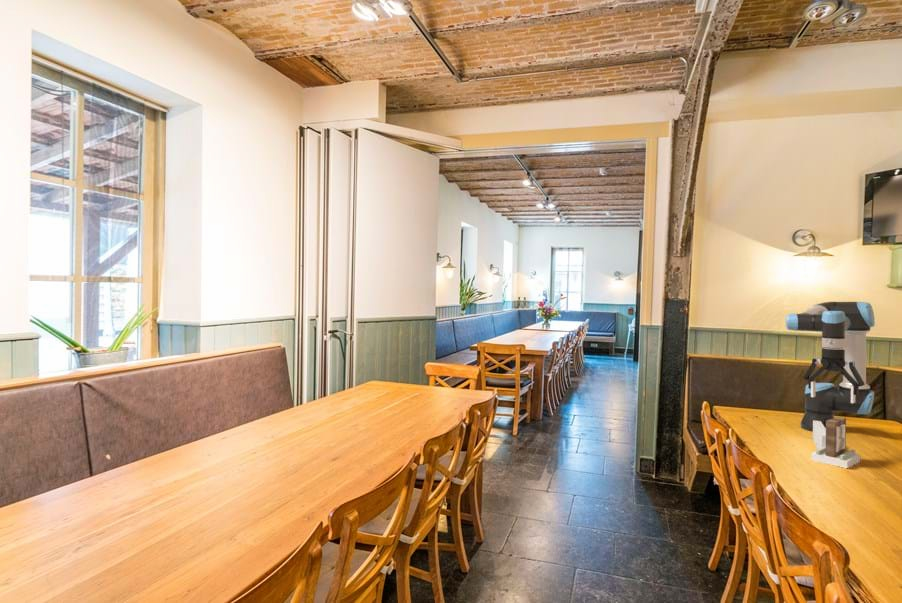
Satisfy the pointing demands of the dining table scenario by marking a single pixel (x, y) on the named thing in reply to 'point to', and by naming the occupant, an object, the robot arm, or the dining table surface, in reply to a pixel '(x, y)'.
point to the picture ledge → (836, 458)
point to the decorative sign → (819, 434)
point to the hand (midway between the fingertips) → (832, 399)
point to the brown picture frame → (835, 437)
